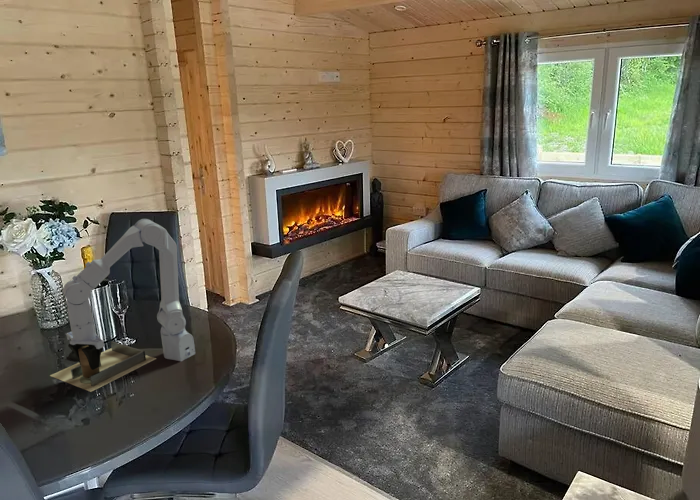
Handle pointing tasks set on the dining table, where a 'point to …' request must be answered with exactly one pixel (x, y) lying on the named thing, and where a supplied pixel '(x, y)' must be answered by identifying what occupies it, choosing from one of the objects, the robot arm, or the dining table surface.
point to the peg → (86, 364)
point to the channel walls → (113, 370)
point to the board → (106, 360)
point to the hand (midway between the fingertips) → (90, 366)
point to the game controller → (73, 356)
